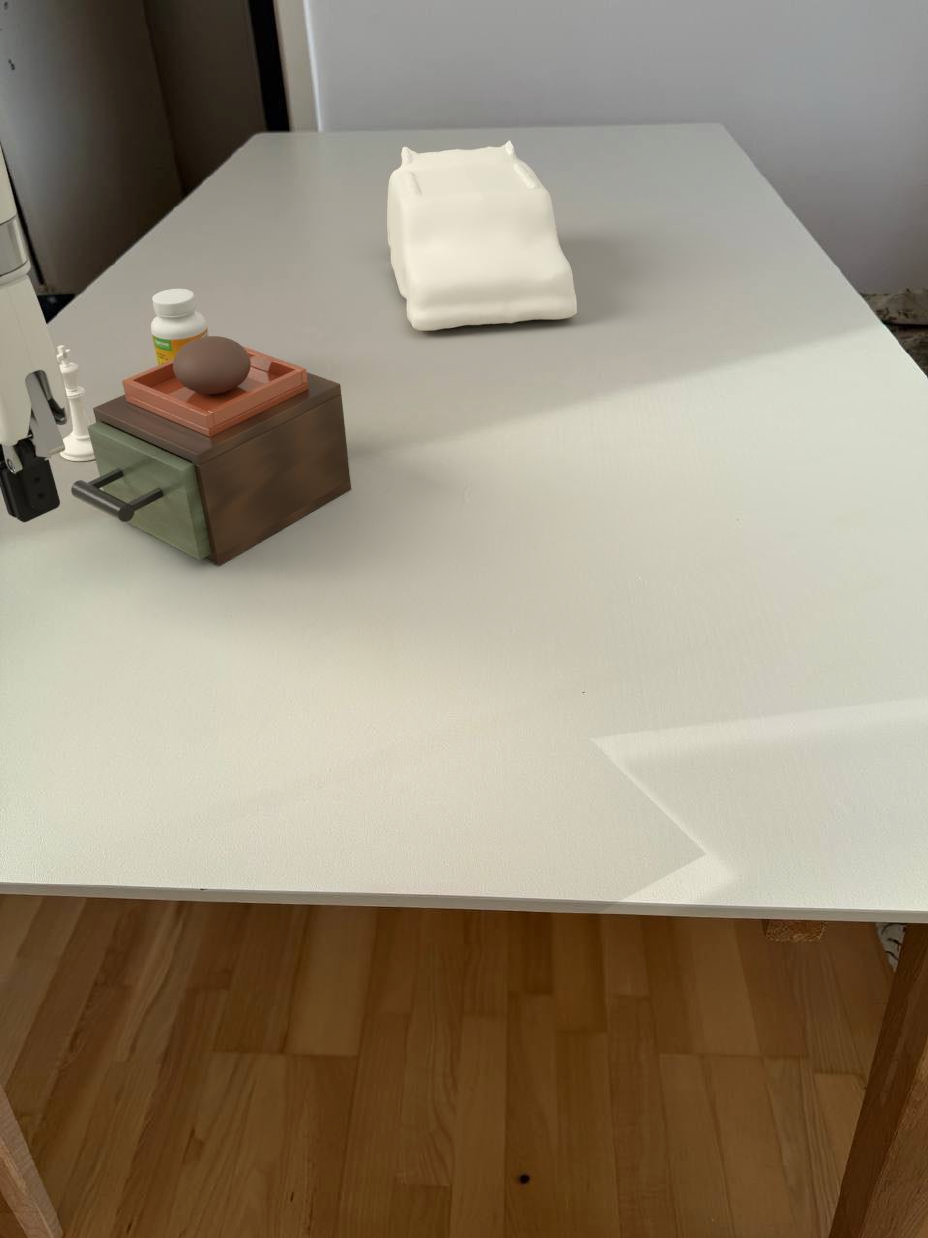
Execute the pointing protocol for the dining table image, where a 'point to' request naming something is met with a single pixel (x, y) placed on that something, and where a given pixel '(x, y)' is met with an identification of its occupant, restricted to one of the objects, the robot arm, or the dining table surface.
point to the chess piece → (75, 412)
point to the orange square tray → (216, 411)
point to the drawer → (146, 489)
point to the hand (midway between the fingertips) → (35, 510)
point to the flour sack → (475, 240)
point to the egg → (211, 365)
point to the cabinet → (255, 463)
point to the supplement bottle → (175, 322)
